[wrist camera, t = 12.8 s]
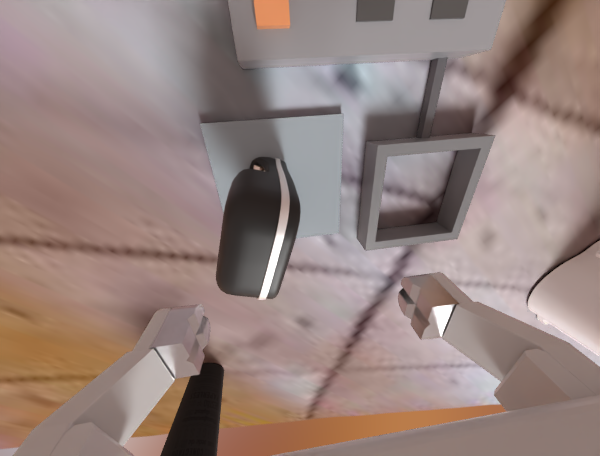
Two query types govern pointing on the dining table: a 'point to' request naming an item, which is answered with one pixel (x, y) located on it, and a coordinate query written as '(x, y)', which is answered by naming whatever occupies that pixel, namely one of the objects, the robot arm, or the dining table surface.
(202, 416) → the drinking cup
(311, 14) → the charging station
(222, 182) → the slate mat
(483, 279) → the dining table surface
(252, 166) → the battery charger
